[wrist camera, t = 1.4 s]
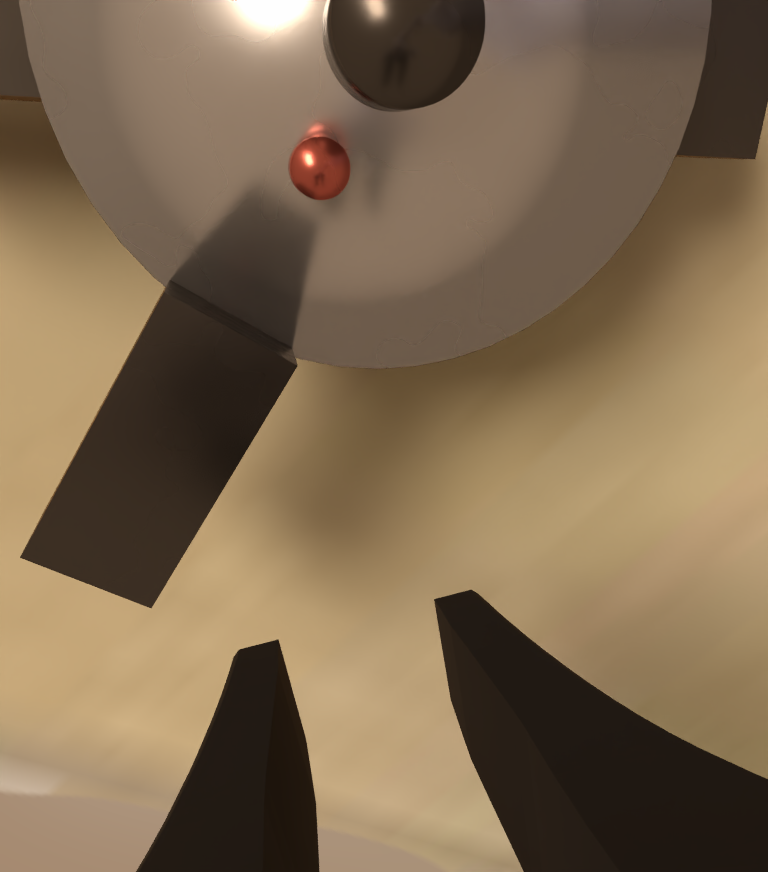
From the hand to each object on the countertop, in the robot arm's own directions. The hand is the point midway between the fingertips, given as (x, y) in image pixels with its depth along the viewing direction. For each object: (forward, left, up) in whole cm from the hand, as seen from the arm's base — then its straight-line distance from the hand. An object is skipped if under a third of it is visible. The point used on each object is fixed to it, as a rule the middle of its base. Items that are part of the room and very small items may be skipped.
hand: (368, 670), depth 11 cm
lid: (0, -7, -5) cm, 9 cm away
